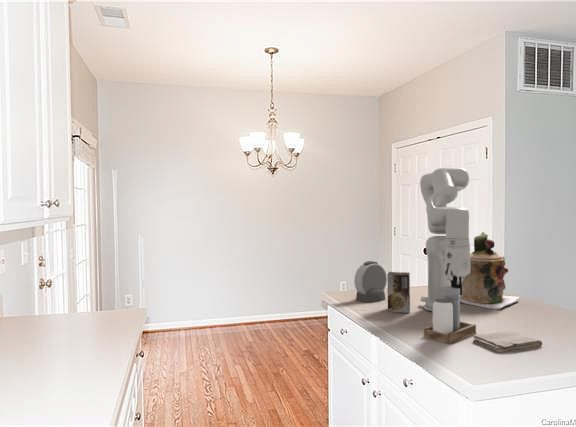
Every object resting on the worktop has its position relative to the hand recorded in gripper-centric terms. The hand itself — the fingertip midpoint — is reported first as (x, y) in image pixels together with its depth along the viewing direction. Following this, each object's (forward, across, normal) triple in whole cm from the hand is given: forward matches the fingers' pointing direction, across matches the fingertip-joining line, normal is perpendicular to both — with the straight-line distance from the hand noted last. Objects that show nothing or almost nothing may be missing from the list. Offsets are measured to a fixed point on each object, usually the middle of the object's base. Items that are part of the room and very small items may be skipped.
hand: (456, 294), depth 146 cm
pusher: (+13, -5, 0) cm, 13 cm away
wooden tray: (+13, -4, 0) cm, 14 cm away
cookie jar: (+14, +53, +17) cm, 57 cm away
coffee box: (+14, +9, +31) cm, 35 cm away
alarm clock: (+14, +15, +52) cm, 56 cm away
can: (+13, -9, 0) cm, 16 cm away
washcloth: (+14, +1, -16) cm, 22 cm away
